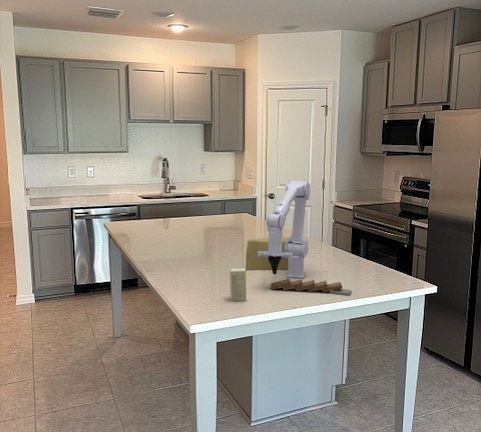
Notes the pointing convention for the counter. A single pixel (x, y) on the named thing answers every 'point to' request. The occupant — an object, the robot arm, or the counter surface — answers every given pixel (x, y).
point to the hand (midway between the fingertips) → (274, 273)
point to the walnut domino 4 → (318, 286)
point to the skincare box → (238, 284)
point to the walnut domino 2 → (294, 285)
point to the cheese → (262, 262)
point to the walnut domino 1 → (280, 284)
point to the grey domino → (341, 292)
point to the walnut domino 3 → (306, 285)
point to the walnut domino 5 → (333, 287)
